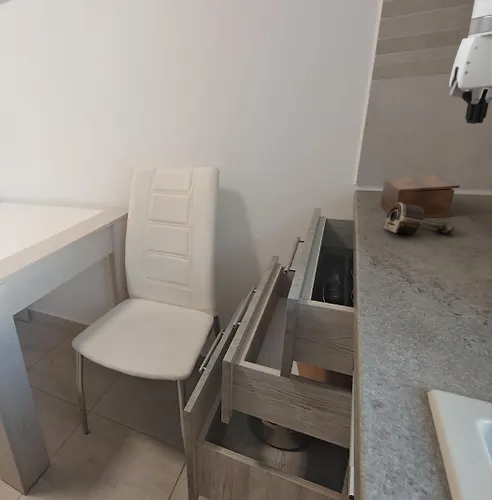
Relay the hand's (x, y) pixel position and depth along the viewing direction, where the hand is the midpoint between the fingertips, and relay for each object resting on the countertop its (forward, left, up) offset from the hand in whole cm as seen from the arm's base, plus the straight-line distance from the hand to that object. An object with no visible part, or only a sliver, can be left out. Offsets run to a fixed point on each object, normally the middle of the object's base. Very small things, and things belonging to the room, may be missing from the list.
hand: (474, 122), depth 80 cm
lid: (+6, -5, -15) cm, 17 cm away
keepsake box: (+6, -5, -22) cm, 23 cm away
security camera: (+11, +11, -22) cm, 27 cm away
